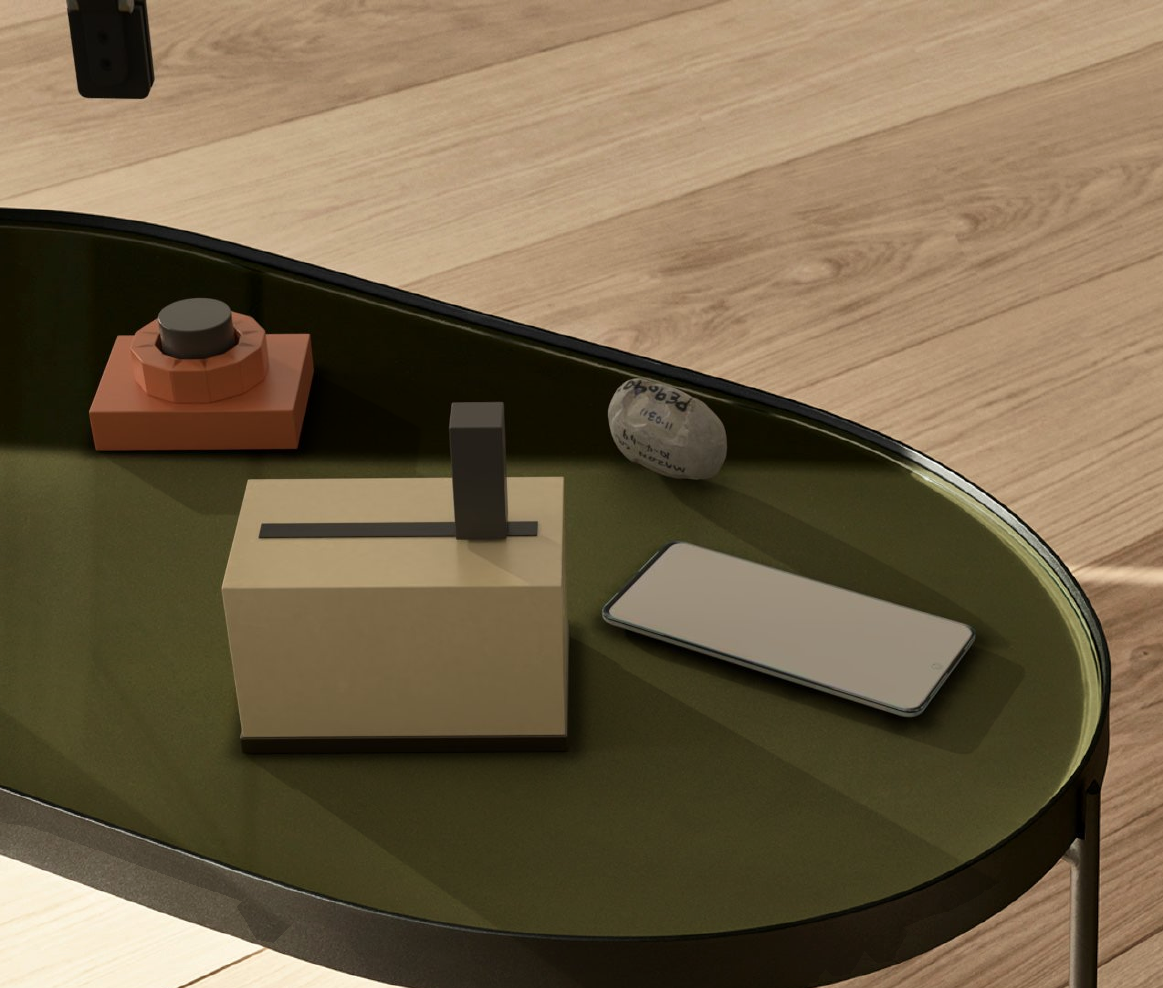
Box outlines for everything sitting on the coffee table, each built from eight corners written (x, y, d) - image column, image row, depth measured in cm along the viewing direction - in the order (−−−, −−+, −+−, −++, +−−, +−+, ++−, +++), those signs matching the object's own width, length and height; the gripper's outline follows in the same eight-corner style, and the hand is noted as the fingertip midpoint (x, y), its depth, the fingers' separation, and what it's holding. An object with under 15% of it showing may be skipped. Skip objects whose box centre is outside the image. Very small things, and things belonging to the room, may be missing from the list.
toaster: (242, 754, 85) (217, 588, 80) (266, 636, 92) (245, 476, 87) (567, 751, 85) (564, 585, 80) (569, 634, 92) (566, 473, 86)
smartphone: (671, 537, 96) (980, 628, 90) (670, 547, 97) (979, 638, 91) (596, 613, 92) (917, 714, 86) (596, 624, 92) (916, 725, 86)
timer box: (95, 451, 104) (82, 379, 102) (123, 373, 110) (111, 303, 108) (297, 449, 104) (289, 377, 101) (314, 371, 110) (306, 301, 108)
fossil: (740, 480, 101) (743, 387, 98) (705, 513, 99) (708, 419, 96) (624, 446, 104) (624, 354, 101) (589, 477, 102) (587, 385, 98)
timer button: (157, 363, 104) (152, 331, 102) (168, 329, 106) (163, 297, 105) (230, 363, 103) (225, 330, 102) (239, 329, 106) (235, 297, 105)
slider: (455, 540, 82) (449, 428, 79) (458, 513, 84) (451, 401, 81) (506, 540, 82) (502, 427, 79) (508, 512, 84) (503, 401, 81)
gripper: (8, -398, 90) (66, 34, 101) (-78, -323, 78) (-2, 155, 90) (184, -394, 90) (222, 36, 101) (124, -319, 78) (175, 158, 90)
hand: (117, 91), depth 95 cm, fingers closed
